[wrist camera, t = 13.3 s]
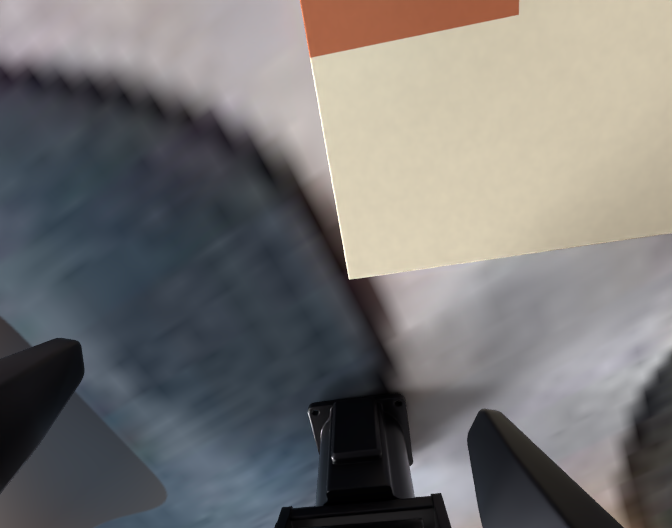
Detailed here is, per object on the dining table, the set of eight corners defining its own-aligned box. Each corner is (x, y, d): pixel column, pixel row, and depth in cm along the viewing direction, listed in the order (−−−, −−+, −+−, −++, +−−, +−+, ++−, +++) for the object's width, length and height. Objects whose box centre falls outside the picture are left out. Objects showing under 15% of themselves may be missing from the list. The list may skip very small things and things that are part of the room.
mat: (729, 221, 18) (737, 223, 18) (349, 276, 20) (349, 279, 20) (897, -409, 11) (917, -428, 10) (260, -225, 12) (257, -236, 12)
